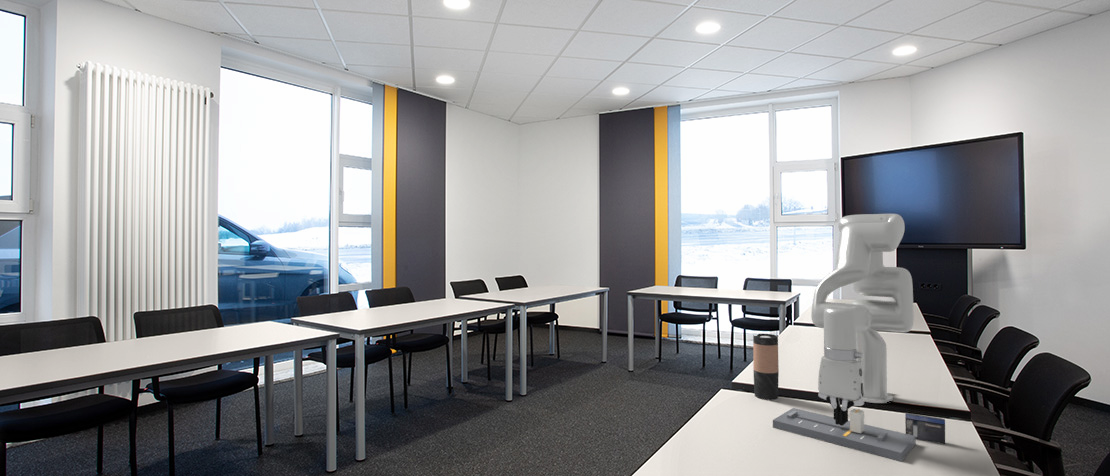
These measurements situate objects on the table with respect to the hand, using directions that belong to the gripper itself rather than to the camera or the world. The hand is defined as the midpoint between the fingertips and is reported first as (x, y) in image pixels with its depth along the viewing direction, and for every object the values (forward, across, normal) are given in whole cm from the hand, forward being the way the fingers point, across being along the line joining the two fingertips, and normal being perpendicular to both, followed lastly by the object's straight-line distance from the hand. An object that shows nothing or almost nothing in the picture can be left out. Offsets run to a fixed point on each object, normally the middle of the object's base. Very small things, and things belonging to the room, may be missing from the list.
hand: (840, 423), depth 134 cm
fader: (+1, -4, 0) cm, 4 cm away
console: (+3, 0, 0) cm, 3 cm away
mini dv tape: (+3, -16, -12) cm, 20 cm away
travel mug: (+3, +28, -18) cm, 33 cm away
